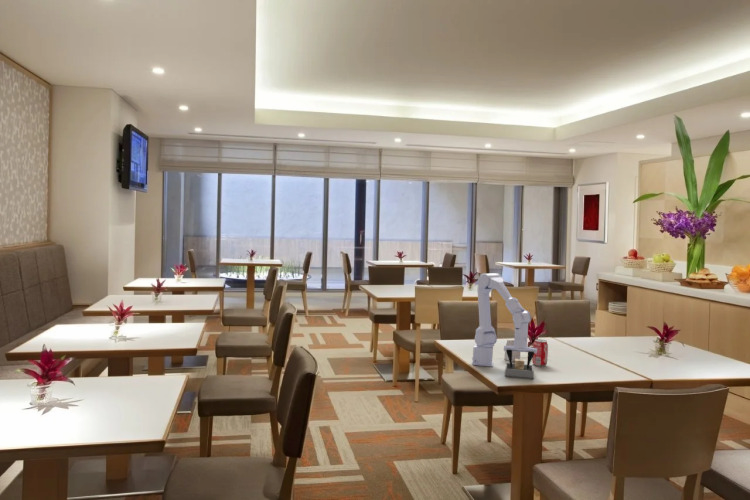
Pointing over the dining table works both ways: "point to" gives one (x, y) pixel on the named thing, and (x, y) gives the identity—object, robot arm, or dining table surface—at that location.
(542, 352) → the soda can
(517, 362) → the oak block
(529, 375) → the bin
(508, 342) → the pale grey box
